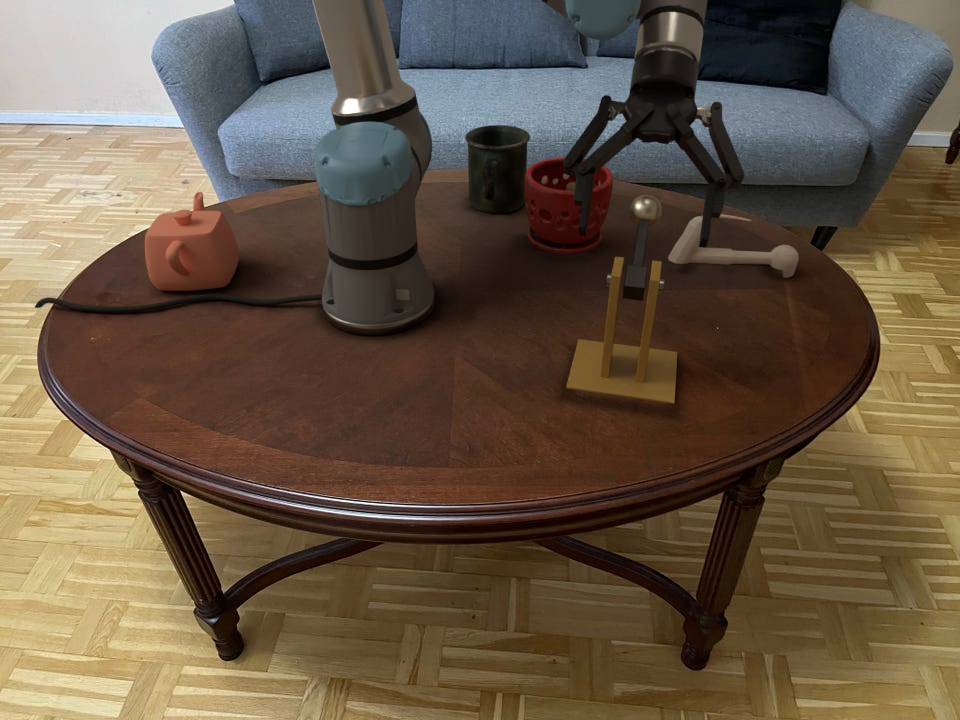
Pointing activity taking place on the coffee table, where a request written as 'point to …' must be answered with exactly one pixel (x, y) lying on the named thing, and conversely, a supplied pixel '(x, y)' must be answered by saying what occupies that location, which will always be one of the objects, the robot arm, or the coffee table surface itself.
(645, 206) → the black lever with ball
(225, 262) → the teapot
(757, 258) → the faucet
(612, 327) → the yellow post stand
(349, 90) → the robot arm
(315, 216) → the coffee table surface
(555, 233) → the flower pot
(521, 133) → the mug
